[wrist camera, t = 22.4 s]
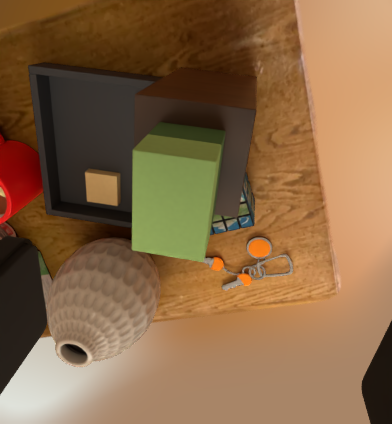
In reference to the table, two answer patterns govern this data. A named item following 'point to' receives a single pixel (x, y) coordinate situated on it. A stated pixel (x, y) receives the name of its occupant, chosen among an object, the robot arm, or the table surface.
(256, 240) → the key chain
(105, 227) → the table surface
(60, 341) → the vase
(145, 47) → the table surface
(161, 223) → the sponge
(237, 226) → the puzzle
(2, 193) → the mug
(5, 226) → the pill bottle
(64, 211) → the pan
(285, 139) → the table surface
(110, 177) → the tan square tile
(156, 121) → the stand
